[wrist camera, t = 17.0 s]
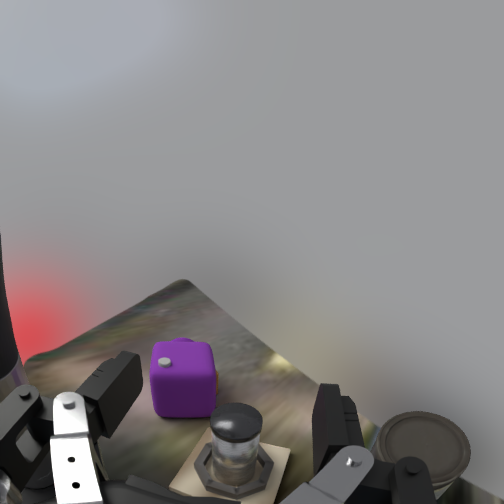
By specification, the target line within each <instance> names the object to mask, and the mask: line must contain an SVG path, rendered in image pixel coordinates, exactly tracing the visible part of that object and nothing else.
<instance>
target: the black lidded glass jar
mask: <svg viewBox="0 0 504 504" xmlns="http://www.w3.org/2000/svg"><path fill="white" fill-rule="evenodd" d="M262 422H263V420H262V416H261V414H260V413H259V412H258V411H257V410H256V409H255V408H253V407H252V406H249V405H246V404H242V403H228V404H224V405H221V406H219V407H217V408H216V409H215V410H214V411H213V412H212V413H211V416H210V427H211V433H212V461H213V473H214V476H215V477H216V478H217V479H218V480H219V481H220V482H222V483H224V484H227V485H232V486H238V485H243V484H245V483H247V482H249V481H250V480H251V479H252V478H253V476H254V474H255V468H256V460H257V453H258V445H259V438H260V432H261V429H262Z"/></svg>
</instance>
